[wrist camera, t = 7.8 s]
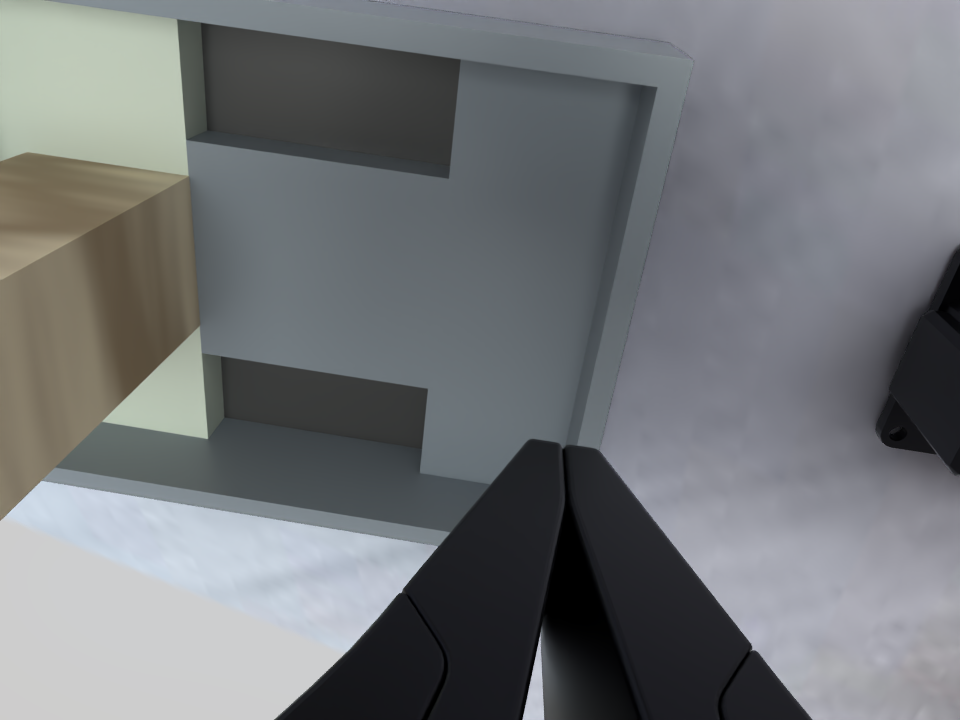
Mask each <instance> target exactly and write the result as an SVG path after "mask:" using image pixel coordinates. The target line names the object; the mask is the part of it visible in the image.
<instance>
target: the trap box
mask: <svg viewBox="0 0 960 720" xmlns="http://www.w3.org/2000/svg"><path fill="white" fill-rule="evenodd" d="M693 63H694V60H693V59H692V58H690V57H689V56H688V55H686V54H685V53H683V52H682V51H681V50H679V49H678V48H677V47H675V46H674V45H672V44H671V43H670V42H663V41H655V40H648V39H641V38H634V37H627V36H620V35H612V34H605V33H598V32H591V31H584V30H577V29H569V28H562V27H555V26H548V25H541V24H533V23H526V22H519V21H512V20H505V19H498V18H490V17H483V16H476V15H469V14H462V13H455V12H447V11H440V10H433V9H426V8H419V7H412V6H404V5H397V4H390V3H383V2H376V1H368V0H0V161H2V160H5V159H8V158H11V157H14V156H17V155H20V154H23V153H26V152H31V153H38V154H44V155H51V156H58V157H65V158H71V159H78V160H85V161H92V162H98V163H105V164H112V165H118V166H125V167H132V168H139V169H145V170H152V171H159V172H165V173H172V174H179V175H186V176H189V179H190V193H191V206H192V220H193V233H194V247H195V260H196V274H197V288H198V301H199V315H200V326H199V327H198V328H197V329H196V330H195V331H194V332H193V333H192V334H191V335H190V336H189V337H188V338H187V339H186V340H185V341H184V342H183V343H182V344H181V345H180V346H179V347H178V348H177V349H176V350H175V351H174V352H173V353H172V354H170V355H169V356H168V357H167V358H166V359H165V360H164V361H163V362H162V363H161V364H160V365H159V366H158V367H157V368H156V369H155V370H154V371H153V372H152V373H151V374H150V375H149V376H148V377H147V378H146V379H145V380H144V381H143V382H142V383H141V384H140V385H139V386H138V387H137V388H136V389H135V390H134V391H133V392H132V393H131V394H130V395H129V396H128V397H126V398H125V399H124V400H123V401H122V402H121V403H120V404H119V405H118V406H117V407H116V408H115V409H114V410H113V411H112V412H111V413H110V414H109V415H108V416H107V417H106V418H105V419H104V420H103V421H102V422H101V423H100V424H99V425H98V426H97V427H96V428H95V429H94V430H93V431H92V432H91V433H90V434H89V435H88V436H87V437H86V438H85V439H84V440H83V441H81V442H80V443H79V444H78V445H77V446H76V447H75V448H74V449H73V450H72V451H71V452H70V453H69V454H68V455H67V456H66V457H65V458H64V459H63V460H62V461H61V462H60V463H59V464H58V465H57V466H56V467H55V468H54V469H53V470H52V471H51V472H50V473H49V474H48V475H47V476H46V477H45V478H44V479H43V480H42V481H46V482H52V483H58V484H64V485H70V486H76V487H83V488H89V489H95V490H101V491H107V492H113V493H119V494H125V495H131V496H137V497H143V498H149V499H155V500H162V501H168V502H174V503H180V504H186V505H192V506H198V507H204V508H210V509H216V510H222V511H228V512H234V513H240V514H247V515H253V516H259V517H265V518H271V519H277V520H283V521H289V522H295V523H301V524H307V525H313V526H319V527H326V528H332V529H338V530H344V531H350V532H356V533H362V534H368V535H374V536H380V537H386V538H392V539H398V540H405V541H411V542H417V543H423V544H429V545H435V546H439V545H440V544H441V543H442V542H443V541H444V539H445V538H446V537H447V536H448V535H449V533H450V532H451V531H452V530H453V529H454V527H455V526H456V525H457V524H458V523H459V521H460V520H461V519H462V518H463V517H464V515H465V514H466V513H467V512H468V511H469V509H470V508H471V507H472V506H473V505H474V504H475V502H476V501H477V500H478V499H479V498H480V496H481V495H482V494H483V493H484V492H485V490H486V489H487V488H488V487H489V486H490V484H491V483H492V482H493V481H494V480H495V478H496V477H497V476H498V475H499V474H500V472H501V471H502V470H503V469H504V468H505V466H506V465H507V464H508V463H509V462H510V460H511V459H512V458H513V457H514V456H515V454H516V453H517V452H518V451H519V450H520V449H521V447H522V446H523V445H524V444H525V443H526V442H527V441H528V440H529V439H539V440H545V441H551V442H557V443H560V444H561V445H562V447H564V446H565V445H568V444H571V445H577V446H584V447H590V448H595V449H597V450H599V449H600V445H601V441H602V437H603V433H604V429H605V424H606V420H607V416H608V412H609V408H610V404H611V400H612V396H613V392H614V387H615V383H616V379H617V375H618V371H619V367H620V363H621V359H622V355H623V351H624V346H625V342H626V338H627V334H628V330H629V326H630V322H631V318H632V314H633V309H634V305H635V301H636V297H637V293H638V289H639V285H640V281H641V277H642V273H643V268H644V264H645V260H646V256H647V252H648V248H649V244H650V240H651V236H652V231H653V227H654V223H655V219H656V215H657V211H658V207H659V203H660V199H661V195H662V190H663V186H664V182H665V178H666V174H667V170H668V166H669V162H670V158H671V153H672V149H673V145H674V141H675V137H676V133H677V129H678V125H679V121H680V116H681V112H682V108H683V104H684V100H685V96H686V92H687V88H688V84H689V80H690V75H691V71H692V67H693Z"/></svg>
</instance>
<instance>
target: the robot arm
mask: <svg viewBox="0 0 960 720" xmlns="http://www.w3.org/2000/svg"><path fill="white" fill-rule="evenodd" d="M889 390H890V392H891V394H890V396H889V398H888V401H887V403H886V405H885V407H884V409H883V411H882V414H881V416H880V418H879V420H878V422H877V425H876V433H877V435H878V437H879V438H880V440H881V441H882V442H883V443H884V444H885V445H886V446H889V447H892V448H899V449H905V450H911V451H918V452H924V453H931V454H937V455H938V456H939V457H940V459H941V460H942V461H943V463H944V464H945V465H946V467H947V468H948V469H949V470H950V472H951V473H952V474H954V475H956V476H960V249H959V250H958V251H957V252H956V254H955V255H954V257H953V259H952V261H951V263H950V266H949V268H948V270H947V272H946V274H945V276H944V279H943V281H942V283H941V285H940V287H939V290H938V292H937V294H936V296H935V298H934V300H933V303H932V305H931V307H930V309H929V311H928V312H927V313H925V314H924V315H923V316H922V317H921V318H920V320H919V322H918V325H917V327H916V329H915V331H914V333H913V336H912V338H911V340H910V342H909V344H908V347H907V349H906V351H905V353H904V355H903V358H902V360H901V362H900V364H899V366H898V369H897V371H896V373H895V375H894V377H893V380H892V382H891V384H890V386H889ZM896 427H902V428H901V429H900V430H899V431H898V432H896V433H893V434H889V433H890V432H891V430H892V429H894V428H896ZM540 632H541V657H542V678H543V699H544V720H812V719H811V717H810V716H809V715H808V714H807V713H806V711H805V710H804V709H803V708H802V707H801V705H800V704H799V703H798V702H797V700H796V699H795V698H794V697H793V696H792V694H791V693H790V692H789V691H788V690H787V688H786V687H785V686H784V685H783V683H782V682H781V681H780V680H779V679H778V677H777V676H776V675H775V673H774V672H773V671H772V670H771V668H770V667H769V666H768V665H767V663H766V662H765V661H764V659H763V658H762V657H761V656H760V654H759V653H758V652H757V651H754V650H753V651H751V650H752V645H751V643H750V642H749V641H748V640H747V638H746V637H745V636H744V634H743V633H742V632H741V631H740V629H739V628H738V627H737V625H736V624H735V623H734V622H733V620H732V619H731V618H730V617H729V615H728V614H727V613H726V611H725V610H724V609H723V608H722V606H721V605H720V604H719V603H718V601H717V600H716V599H715V597H714V596H713V595H712V594H711V592H710V591H709V590H708V589H707V587H706V586H705V585H704V583H703V582H702V581H701V580H700V578H699V577H698V576H697V574H696V573H695V572H694V571H693V569H692V568H691V567H690V566H689V564H688V563H687V562H686V560H685V559H684V558H683V557H682V555H681V554H680V553H679V552H678V550H677V549H676V548H675V546H674V545H673V544H672V543H671V541H670V540H669V539H668V538H667V536H666V535H665V534H664V532H663V531H662V530H661V529H660V527H659V526H658V525H657V523H656V522H655V521H654V520H653V518H652V517H651V516H650V515H649V513H648V512H647V511H646V509H645V508H644V507H643V506H642V504H641V503H640V502H639V501H638V499H637V498H636V497H635V495H634V494H633V493H632V492H631V490H630V489H629V488H628V487H627V485H626V484H625V483H624V481H623V480H622V479H621V478H620V476H619V475H618V474H617V472H616V471H615V470H614V469H613V467H612V466H611V465H610V464H609V462H608V461H607V460H606V458H605V457H604V456H603V455H602V453H601V452H600V451H599V450H597V449H595V448H590V447H584V446H577V445H571V444H568V445H565V446H564V447H562V445H561V444H560V443H557V442H551V441H545V440H539V439H529V440H528V441H527V442H526V443H525V444H524V445H523V446H522V447H521V449H520V450H519V451H518V452H517V453H516V454H515V456H514V457H513V458H512V459H511V460H510V462H509V463H508V464H507V465H506V466H505V468H504V469H503V470H502V471H501V472H500V474H499V475H498V476H497V477H496V478H495V480H494V481H493V482H492V483H491V484H490V486H489V487H488V488H487V489H486V490H485V492H484V493H483V494H482V495H481V496H480V498H479V499H478V500H477V501H476V502H475V504H474V505H473V506H472V507H471V508H470V509H469V511H468V512H467V513H466V514H465V515H464V517H463V518H462V519H461V520H460V521H459V523H458V524H457V525H456V526H455V527H454V529H453V530H452V531H451V532H450V533H449V535H448V536H447V537H446V538H445V539H444V541H443V542H442V543H441V544H440V545H439V547H438V548H437V549H436V550H435V551H434V553H433V554H432V555H431V556H430V557H429V559H428V560H427V561H426V562H425V563H424V564H423V566H422V567H421V568H420V569H419V570H418V572H417V573H416V574H415V575H414V576H413V578H412V579H411V580H410V581H409V582H408V584H407V585H406V586H405V587H404V588H403V591H402V593H399V594H398V595H397V596H396V597H395V599H394V600H393V601H392V602H391V603H390V605H389V606H388V607H387V608H386V609H385V611H384V612H383V613H382V614H381V615H380V617H379V618H378V619H377V620H376V621H375V622H374V623H373V624H372V625H371V626H370V628H369V629H368V630H367V631H366V632H365V633H364V634H363V635H362V636H361V638H360V639H359V640H358V641H357V642H356V643H355V644H354V645H353V646H352V647H351V649H350V650H349V651H348V652H346V653H345V654H344V655H343V656H342V658H340V659H339V660H338V661H337V662H336V663H335V664H334V665H333V666H332V667H331V668H330V669H329V670H328V671H327V672H326V673H325V674H324V675H322V676H321V677H320V678H319V679H318V680H317V681H316V682H315V683H314V684H313V685H312V686H311V687H310V688H309V689H308V690H307V691H305V692H304V693H303V694H302V695H301V696H300V697H299V698H298V699H297V700H295V701H294V702H293V703H292V704H291V705H290V706H289V707H288V708H287V709H286V710H285V711H283V712H282V713H281V714H280V715H279V716H278V717H277V718H276V719H274V720H522V719H523V714H524V709H525V705H526V700H527V695H528V690H529V685H530V681H531V676H532V671H533V666H534V661H535V656H536V652H537V647H538V642H539V637H540Z"/></svg>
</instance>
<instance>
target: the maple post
mask: <svg viewBox="0 0 960 720" xmlns="http://www.w3.org/2000/svg"><path fill="white" fill-rule="evenodd" d="M199 326H200V315H199V301H198V288H197V274H196V260H195V247H194V233H193V220H192V206H191V193H190V179H189V176H186V175H179V174H172V173H165V172H159V171H152V170H145V169H139V168H132V167H125V166H118V165H112V164H105V163H98V162H92V161H85V160H78V159H71V158H65V157H58V156H51V155H44V154H38V153H31V152H26V153H23V154H20V155H17V156H14V157H11V158H8V159H5V160H2V161H0V521H1V520H2V519H3V518H4V517H5V516H6V515H7V514H8V513H9V512H10V511H11V510H12V509H13V508H14V507H15V506H16V505H17V504H18V503H19V502H20V501H21V500H22V499H23V498H24V497H25V496H26V495H27V494H28V493H29V492H30V491H31V490H32V489H33V488H34V487H35V486H36V485H37V484H39V483H40V482H41V481H42V480H43V479H44V478H45V477H46V476H47V475H48V474H49V473H50V472H51V471H52V470H53V469H54V468H55V467H56V466H57V465H58V464H59V463H60V462H61V461H62V460H63V459H64V458H65V457H66V456H67V455H68V454H69V453H70V452H71V451H72V450H73V449H74V448H75V447H76V446H77V445H78V444H79V443H80V442H81V441H83V440H84V439H85V438H86V437H87V436H88V435H89V434H90V433H91V432H92V431H93V430H94V429H95V428H96V427H97V426H98V425H99V424H100V423H101V422H102V421H103V420H104V419H105V418H106V417H107V416H108V415H109V414H110V413H111V412H112V411H113V410H114V409H115V408H116V407H117V406H118V405H119V404H120V403H121V402H122V401H123V400H124V399H125V398H126V397H128V396H129V395H130V394H131V393H132V392H133V391H134V390H135V389H136V388H137V387H138V386H139V385H140V384H141V383H142V382H143V381H144V380H145V379H146V378H147V377H148V376H149V375H150V374H151V373H152V372H153V371H154V370H155V369H156V368H157V367H158V366H159V365H160V364H161V363H162V362H163V361H164V360H165V359H166V358H167V357H168V356H169V355H170V354H172V353H173V352H174V351H175V350H176V349H177V348H178V347H179V346H180V345H181V344H182V343H183V342H184V341H185V340H186V339H187V338H188V337H189V336H190V335H191V334H192V333H193V332H194V331H195V330H196V329H197V328H198V327H199Z"/></svg>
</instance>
